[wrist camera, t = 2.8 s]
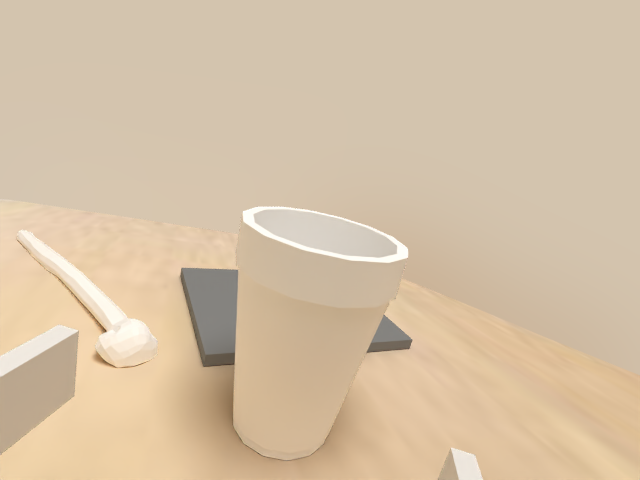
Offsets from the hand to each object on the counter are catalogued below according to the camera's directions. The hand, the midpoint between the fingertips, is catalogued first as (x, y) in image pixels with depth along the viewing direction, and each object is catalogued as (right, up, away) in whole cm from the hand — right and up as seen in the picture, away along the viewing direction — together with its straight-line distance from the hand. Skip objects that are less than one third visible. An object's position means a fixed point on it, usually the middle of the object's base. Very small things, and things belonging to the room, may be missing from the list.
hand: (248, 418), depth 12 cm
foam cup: (0, -6, +12) cm, 13 cm away
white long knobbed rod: (-21, +1, +21) cm, 30 cm away
